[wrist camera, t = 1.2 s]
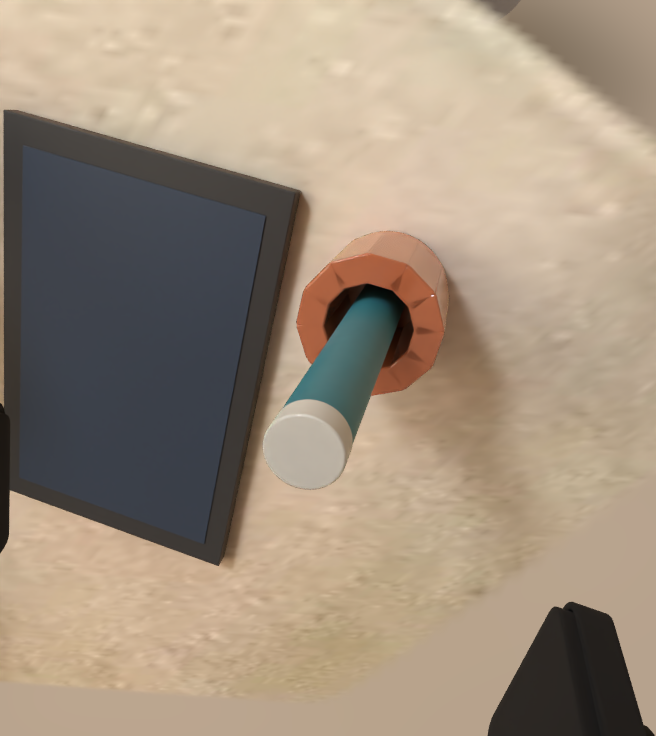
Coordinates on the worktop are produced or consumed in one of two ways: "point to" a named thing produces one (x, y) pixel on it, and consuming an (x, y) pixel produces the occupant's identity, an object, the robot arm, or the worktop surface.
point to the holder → (390, 271)
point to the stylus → (333, 395)
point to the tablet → (135, 328)
